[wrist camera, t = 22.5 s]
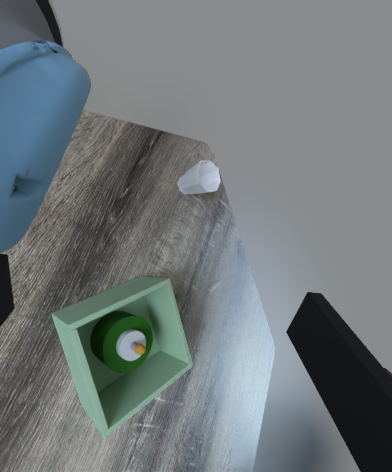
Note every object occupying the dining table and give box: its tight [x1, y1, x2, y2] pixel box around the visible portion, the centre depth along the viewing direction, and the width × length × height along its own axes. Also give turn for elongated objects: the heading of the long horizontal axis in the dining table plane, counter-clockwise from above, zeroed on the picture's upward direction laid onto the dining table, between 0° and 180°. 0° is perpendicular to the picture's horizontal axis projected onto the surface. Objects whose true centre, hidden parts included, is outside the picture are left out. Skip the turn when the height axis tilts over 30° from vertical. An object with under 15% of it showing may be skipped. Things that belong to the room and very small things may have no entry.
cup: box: [177, 160, 221, 195], centre depth 54 cm, size 7×10×8 cm
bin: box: [51, 276, 193, 439], centre depth 39 cm, size 16×16×10 cm
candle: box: [90, 311, 153, 373], centre depth 38 cm, size 8×8×10 cm
